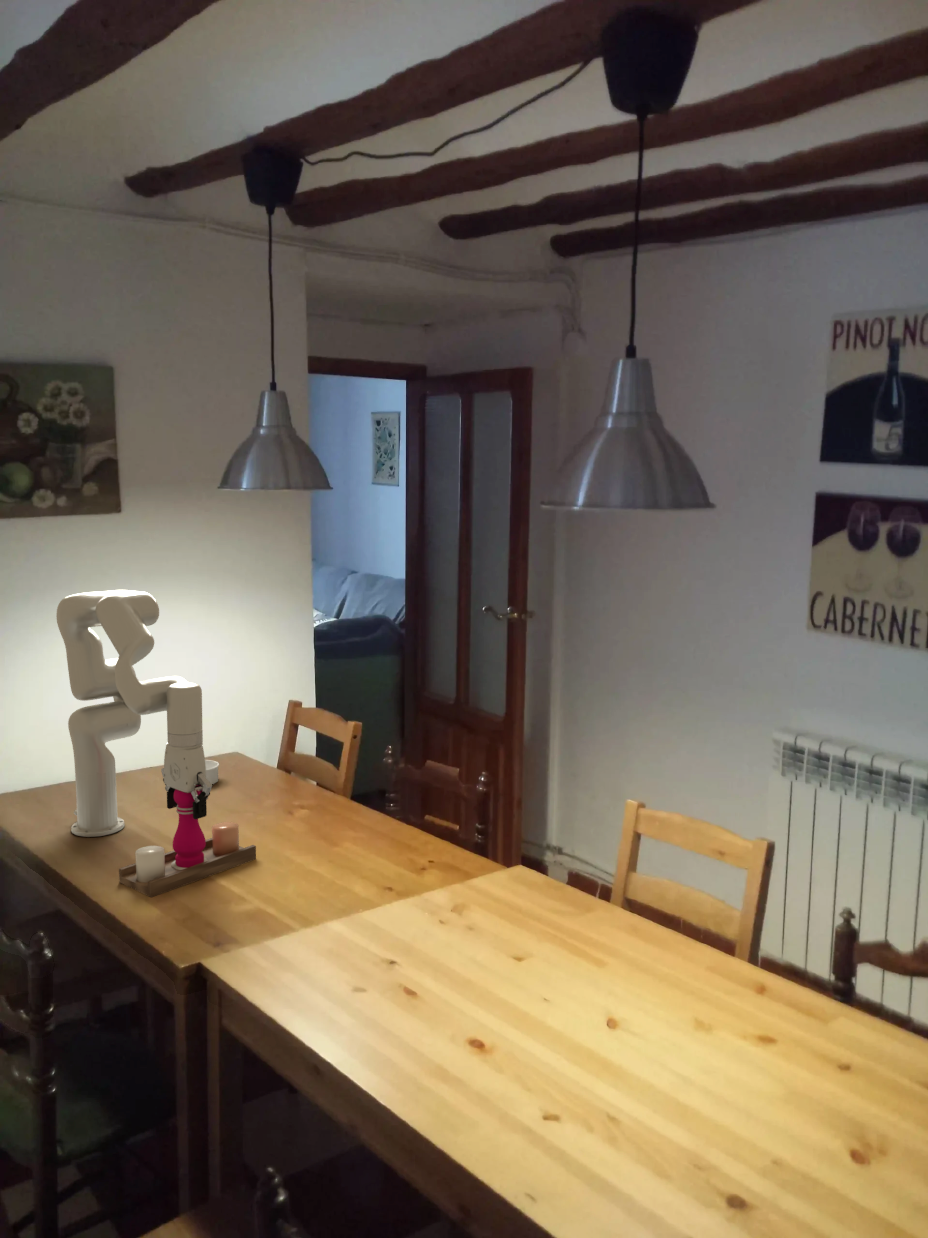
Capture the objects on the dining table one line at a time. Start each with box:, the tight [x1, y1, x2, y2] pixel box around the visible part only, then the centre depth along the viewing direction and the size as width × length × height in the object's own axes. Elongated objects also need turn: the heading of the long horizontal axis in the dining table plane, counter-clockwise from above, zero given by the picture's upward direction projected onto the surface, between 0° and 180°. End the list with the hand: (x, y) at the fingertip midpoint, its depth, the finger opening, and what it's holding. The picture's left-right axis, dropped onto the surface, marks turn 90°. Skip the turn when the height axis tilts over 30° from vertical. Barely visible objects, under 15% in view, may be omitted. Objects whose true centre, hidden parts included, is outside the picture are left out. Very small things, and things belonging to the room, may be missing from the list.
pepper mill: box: [172, 786, 206, 868], centre depth 224 cm, size 7×7×20 cm
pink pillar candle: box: [211, 821, 240, 856], centre depth 233 cm, size 6×6×6 cm
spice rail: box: [118, 837, 257, 898], centre depth 225 cm, size 12×28×3 cm, turn 141°
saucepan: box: [205, 759, 220, 785], centre depth 292 cm, size 12×20×6 cm, turn 34°
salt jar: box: [135, 845, 165, 883], centre depth 217 cm, size 6×6×6 cm
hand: (186, 812), depth 224 cm, fingers open, 9 cm apart
